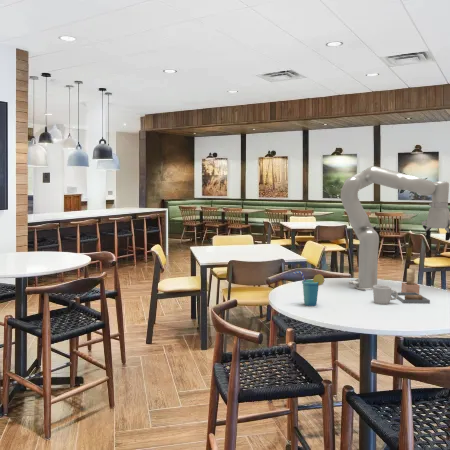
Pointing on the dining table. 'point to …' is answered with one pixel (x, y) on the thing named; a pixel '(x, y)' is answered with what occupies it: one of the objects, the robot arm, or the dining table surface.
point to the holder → (410, 287)
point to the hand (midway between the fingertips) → (437, 239)
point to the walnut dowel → (413, 297)
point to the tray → (424, 301)
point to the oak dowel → (410, 276)
